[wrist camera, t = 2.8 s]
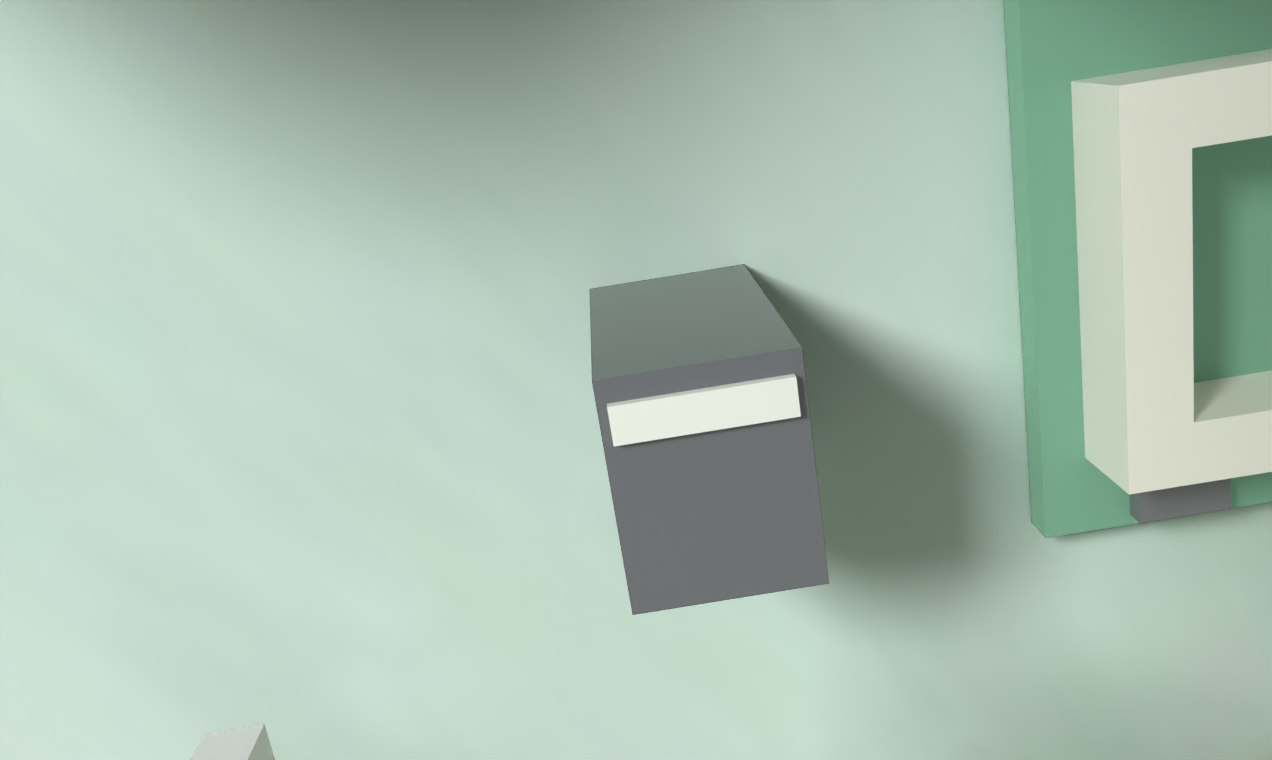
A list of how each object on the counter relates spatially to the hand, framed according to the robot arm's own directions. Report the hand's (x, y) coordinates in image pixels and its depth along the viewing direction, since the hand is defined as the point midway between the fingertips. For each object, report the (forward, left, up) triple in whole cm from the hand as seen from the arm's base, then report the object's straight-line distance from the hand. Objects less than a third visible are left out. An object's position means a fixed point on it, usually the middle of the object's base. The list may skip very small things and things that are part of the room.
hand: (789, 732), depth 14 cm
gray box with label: (0, 0, -16) cm, 16 cm away
